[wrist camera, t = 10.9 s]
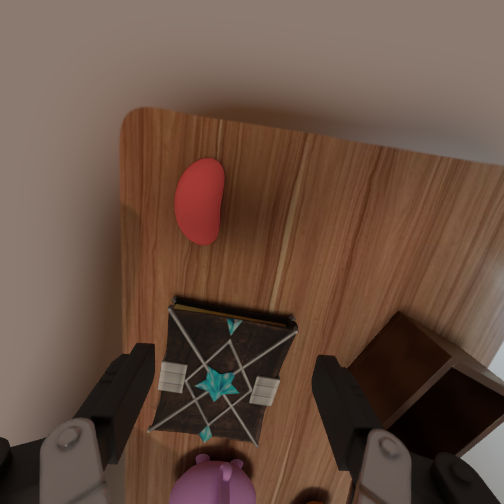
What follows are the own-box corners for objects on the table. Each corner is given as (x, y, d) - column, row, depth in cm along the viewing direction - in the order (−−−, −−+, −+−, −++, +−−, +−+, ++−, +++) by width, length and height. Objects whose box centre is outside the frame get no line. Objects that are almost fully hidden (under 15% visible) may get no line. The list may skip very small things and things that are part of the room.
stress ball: (169, 217, 29) (169, 251, 25) (179, 145, 24) (182, 173, 20) (209, 222, 31) (216, 254, 27) (227, 157, 26) (240, 185, 22)
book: (257, 424, 39) (260, 458, 34) (155, 410, 37) (142, 445, 32) (294, 314, 33) (303, 337, 28) (174, 291, 31) (161, 312, 26)
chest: (398, 310, 33) (452, 356, 25) (460, 347, 36) (529, 401, 27) (331, 386, 37) (357, 449, 29) (391, 415, 40) (432, 481, 31)
